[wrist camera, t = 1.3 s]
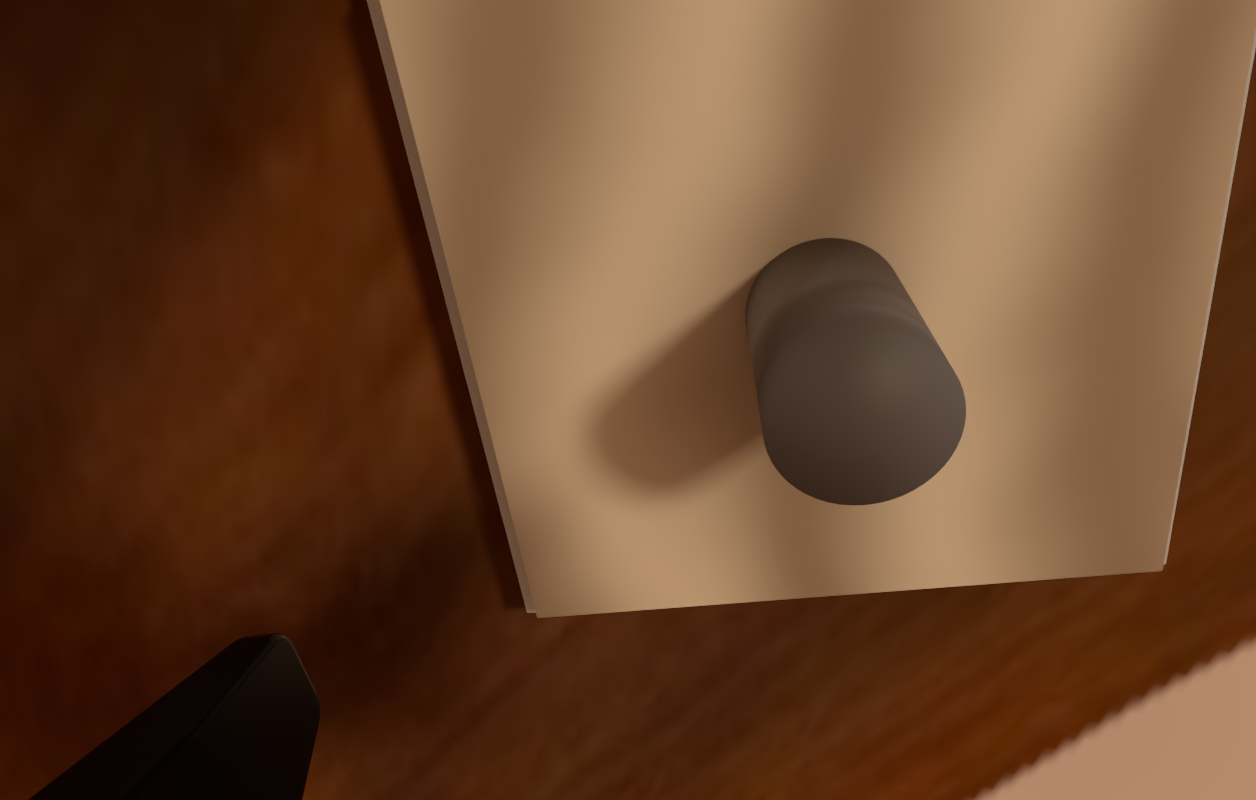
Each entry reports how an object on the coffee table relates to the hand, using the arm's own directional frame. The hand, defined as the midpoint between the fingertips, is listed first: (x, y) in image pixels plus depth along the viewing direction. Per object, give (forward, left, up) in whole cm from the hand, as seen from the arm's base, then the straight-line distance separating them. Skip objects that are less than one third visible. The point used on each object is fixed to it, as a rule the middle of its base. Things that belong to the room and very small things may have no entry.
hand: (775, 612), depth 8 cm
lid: (-2, +2, -12) cm, 12 cm away
